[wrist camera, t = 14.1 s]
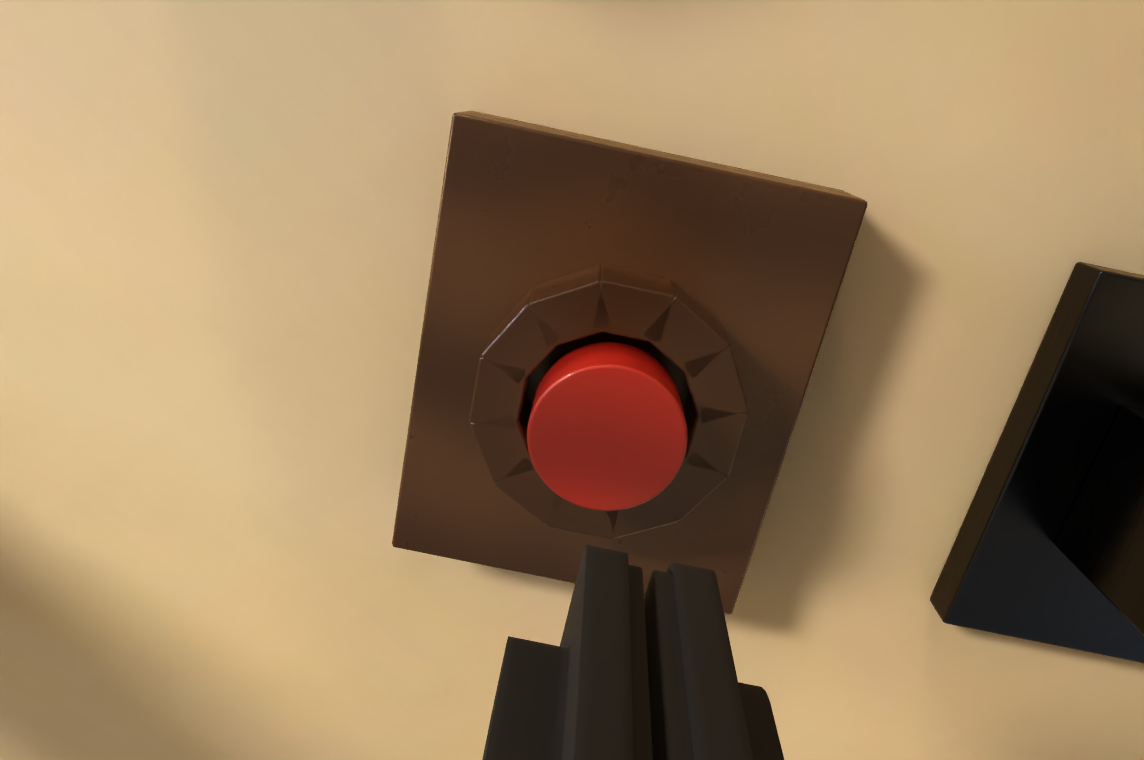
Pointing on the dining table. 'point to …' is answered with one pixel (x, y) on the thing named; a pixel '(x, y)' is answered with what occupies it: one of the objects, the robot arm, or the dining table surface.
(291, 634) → the dining table surface
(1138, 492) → the switch bracket
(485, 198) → the housing
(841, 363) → the dining table surface
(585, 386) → the button
